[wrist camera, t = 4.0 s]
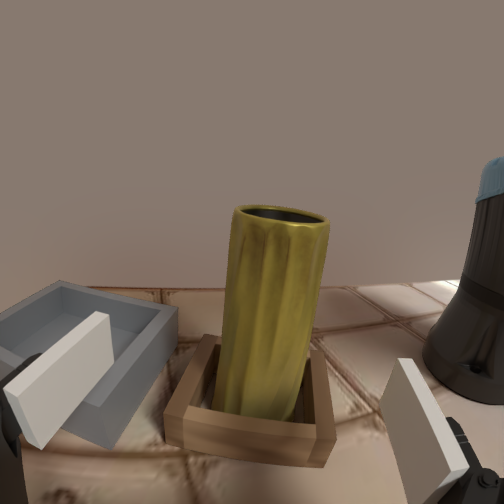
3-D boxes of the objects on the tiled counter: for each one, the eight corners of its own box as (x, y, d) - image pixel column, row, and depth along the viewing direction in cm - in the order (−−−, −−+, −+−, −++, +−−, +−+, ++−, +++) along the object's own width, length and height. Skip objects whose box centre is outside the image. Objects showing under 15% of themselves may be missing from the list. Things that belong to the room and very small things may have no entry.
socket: (316, 379, 25) (323, 351, 24) (323, 468, 15) (336, 439, 15) (203, 362, 26) (204, 333, 25) (166, 443, 16) (162, 413, 16)
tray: (177, 344, 28) (178, 307, 27) (111, 450, 15) (99, 407, 14) (63, 313, 29) (59, 280, 28) (-23, 376, 16) (-37, 335, 15)
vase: (199, 427, 18) (209, 212, 14) (224, 376, 24) (241, 199, 20) (288, 447, 17) (342, 233, 13) (297, 391, 23) (336, 214, 19)
